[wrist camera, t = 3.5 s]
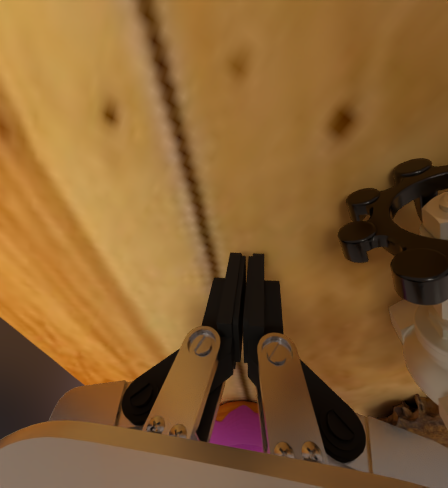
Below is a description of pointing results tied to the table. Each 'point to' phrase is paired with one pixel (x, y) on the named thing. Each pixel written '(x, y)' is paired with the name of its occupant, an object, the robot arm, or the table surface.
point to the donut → (238, 426)
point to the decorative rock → (420, 420)
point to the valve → (411, 266)
